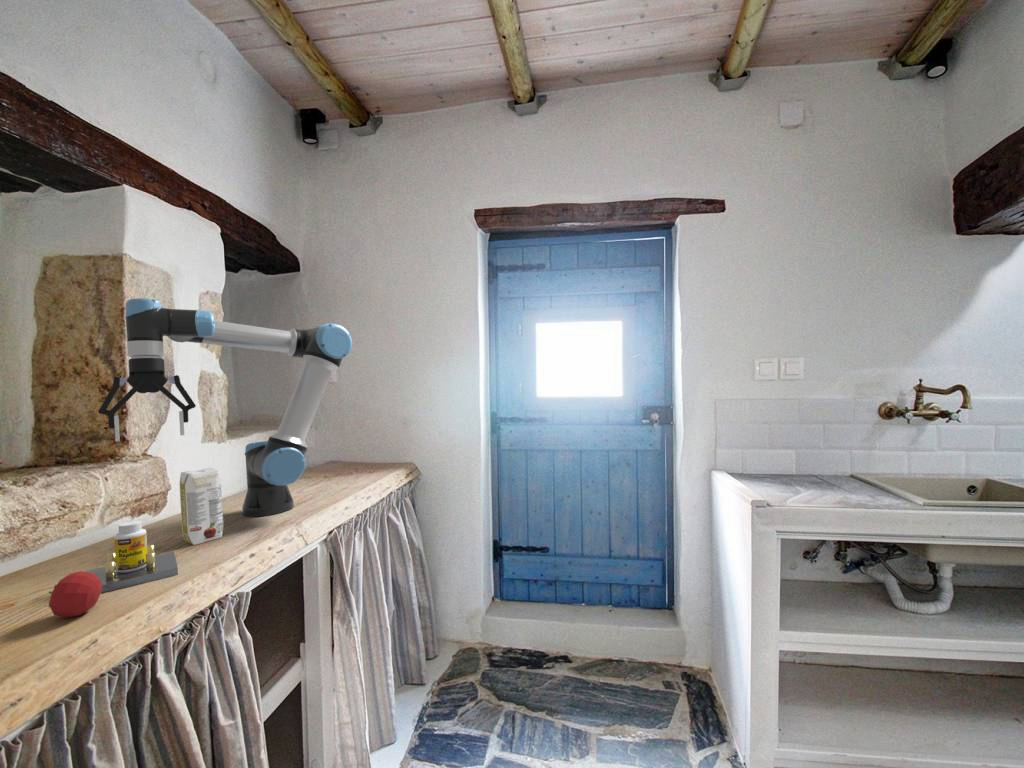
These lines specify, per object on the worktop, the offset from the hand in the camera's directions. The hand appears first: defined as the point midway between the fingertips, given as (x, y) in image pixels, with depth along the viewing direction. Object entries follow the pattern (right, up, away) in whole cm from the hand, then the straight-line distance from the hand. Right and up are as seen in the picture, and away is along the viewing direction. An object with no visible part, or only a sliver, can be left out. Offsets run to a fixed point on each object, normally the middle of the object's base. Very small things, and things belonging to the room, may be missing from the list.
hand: (151, 438), depth 124 cm
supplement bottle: (+11, -27, -20) cm, 35 cm away
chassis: (+11, -28, -20) cm, 37 cm away
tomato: (+15, -29, -38) cm, 49 cm away
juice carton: (+12, -28, +3) cm, 31 cm away
